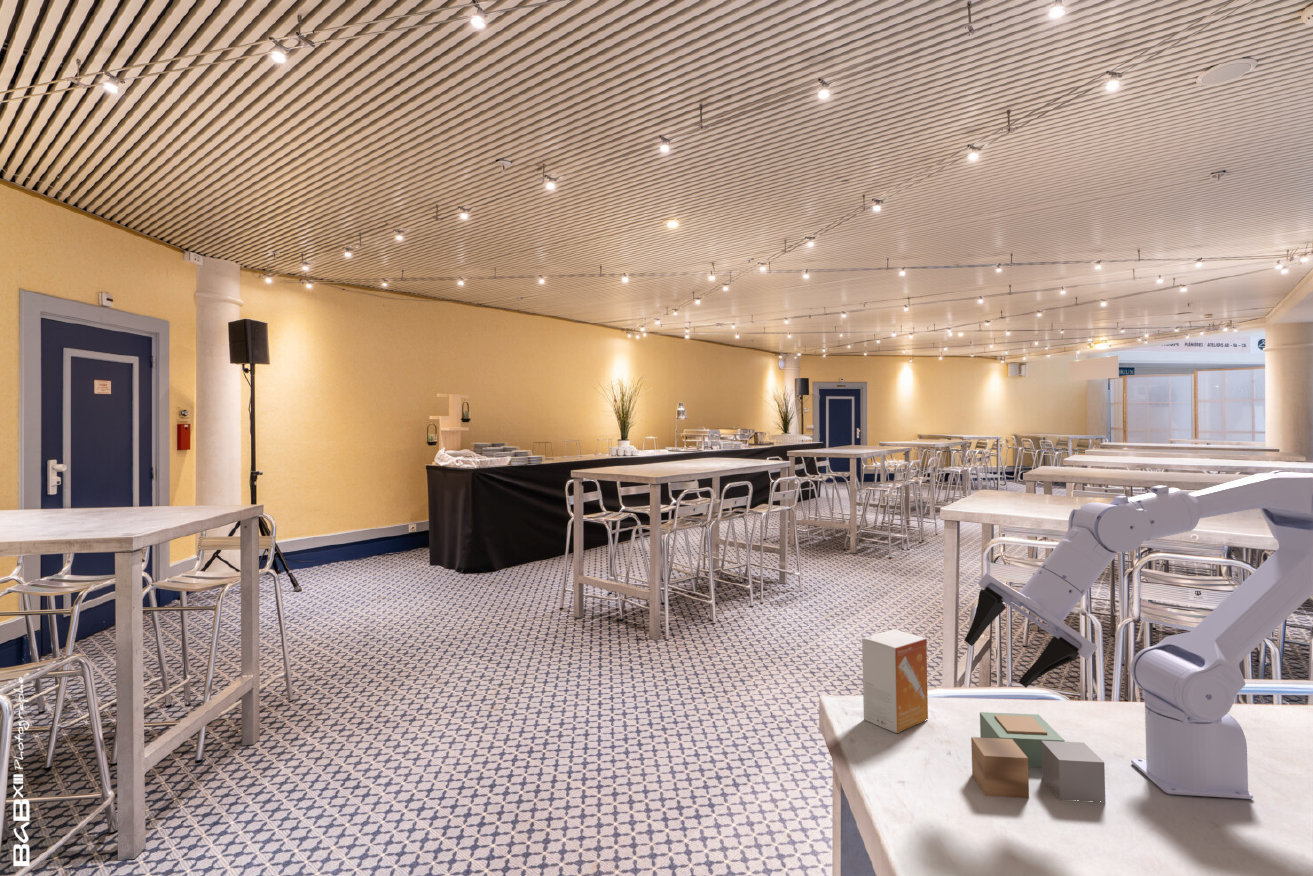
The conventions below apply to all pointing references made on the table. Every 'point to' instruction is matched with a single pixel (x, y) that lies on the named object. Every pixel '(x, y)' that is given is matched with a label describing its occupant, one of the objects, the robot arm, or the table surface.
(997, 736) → the green block
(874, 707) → the small box
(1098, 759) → the grey cube
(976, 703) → the table surface
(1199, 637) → the robot arm
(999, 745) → the walnut cube
